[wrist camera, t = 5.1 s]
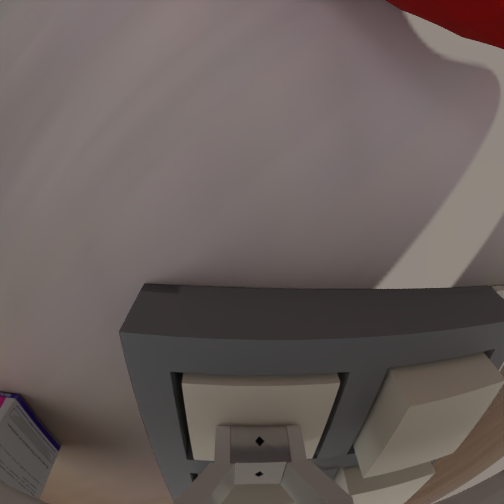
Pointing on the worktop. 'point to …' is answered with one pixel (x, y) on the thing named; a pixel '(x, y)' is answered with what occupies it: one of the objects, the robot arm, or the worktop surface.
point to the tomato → (462, 17)
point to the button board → (293, 350)
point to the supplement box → (24, 447)
